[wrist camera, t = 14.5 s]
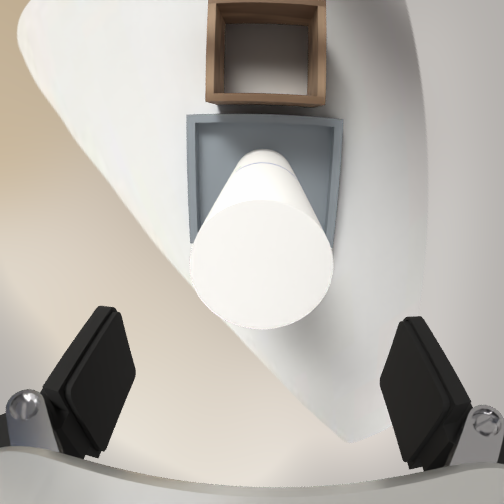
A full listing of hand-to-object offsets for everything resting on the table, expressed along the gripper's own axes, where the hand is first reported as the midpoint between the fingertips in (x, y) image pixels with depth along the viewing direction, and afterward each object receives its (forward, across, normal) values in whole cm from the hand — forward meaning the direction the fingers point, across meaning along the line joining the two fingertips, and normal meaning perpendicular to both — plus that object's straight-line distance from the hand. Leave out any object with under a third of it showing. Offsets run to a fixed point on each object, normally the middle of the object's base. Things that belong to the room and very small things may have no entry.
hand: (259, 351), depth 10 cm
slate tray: (+32, 0, +1) cm, 32 cm away
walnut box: (+32, 0, -14) cm, 35 cm away
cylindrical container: (+31, 0, +1) cm, 31 cm away
